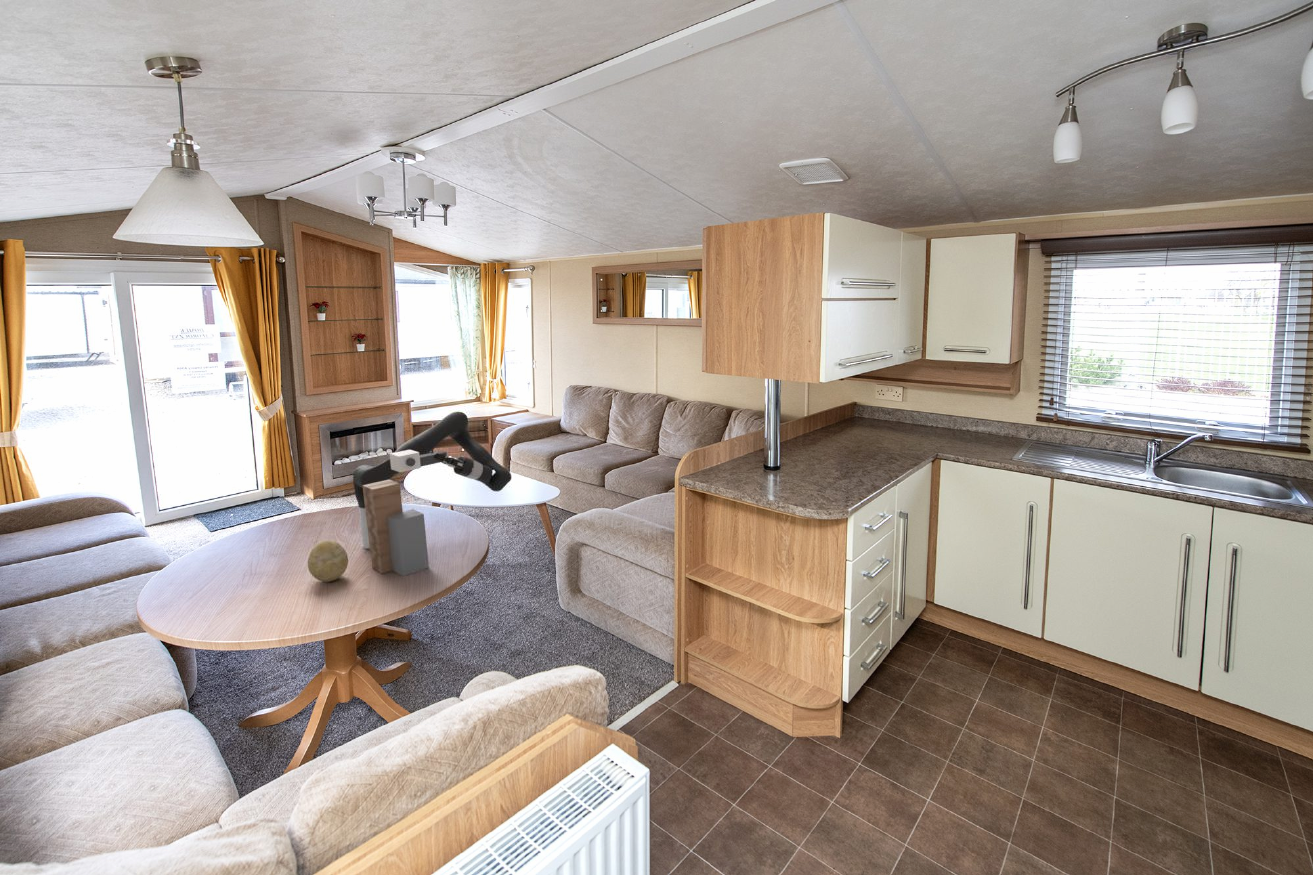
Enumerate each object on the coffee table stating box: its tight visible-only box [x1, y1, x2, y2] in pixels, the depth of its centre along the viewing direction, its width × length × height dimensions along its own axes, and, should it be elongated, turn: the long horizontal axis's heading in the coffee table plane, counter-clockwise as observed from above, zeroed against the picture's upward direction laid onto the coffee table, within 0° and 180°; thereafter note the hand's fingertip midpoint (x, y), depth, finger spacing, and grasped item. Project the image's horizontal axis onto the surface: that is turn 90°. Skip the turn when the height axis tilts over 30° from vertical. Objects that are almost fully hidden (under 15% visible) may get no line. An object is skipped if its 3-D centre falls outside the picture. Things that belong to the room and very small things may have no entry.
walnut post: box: [363, 479, 404, 575], centre depth 232 cm, size 8×10×32 cm
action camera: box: [389, 450, 448, 473], centre depth 238 cm, size 9×20×6 cm, turn 138°
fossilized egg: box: [307, 539, 349, 583], centre depth 223 cm, size 13×13×15 cm
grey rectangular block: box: [387, 509, 430, 577], centre depth 231 cm, size 8×10×21 cm
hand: (432, 454), depth 242 cm, fingers closed on action camera, 3 cm apart
